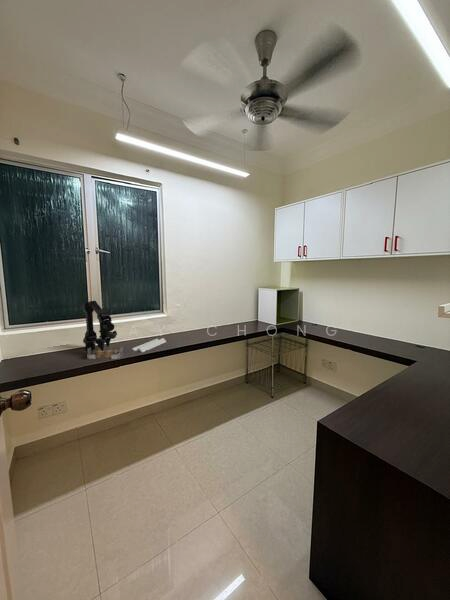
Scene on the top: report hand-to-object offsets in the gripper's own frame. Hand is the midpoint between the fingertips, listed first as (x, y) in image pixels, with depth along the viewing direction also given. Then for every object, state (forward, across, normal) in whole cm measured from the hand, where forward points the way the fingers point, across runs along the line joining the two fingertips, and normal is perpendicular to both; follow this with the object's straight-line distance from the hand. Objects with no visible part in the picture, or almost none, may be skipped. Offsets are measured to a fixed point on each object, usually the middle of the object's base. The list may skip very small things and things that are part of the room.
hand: (105, 348), depth 188 cm
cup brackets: (+6, 0, 0) cm, 6 cm away
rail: (+7, 0, 0) cm, 7 cm away
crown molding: (+7, +26, -27) cm, 38 cm away
